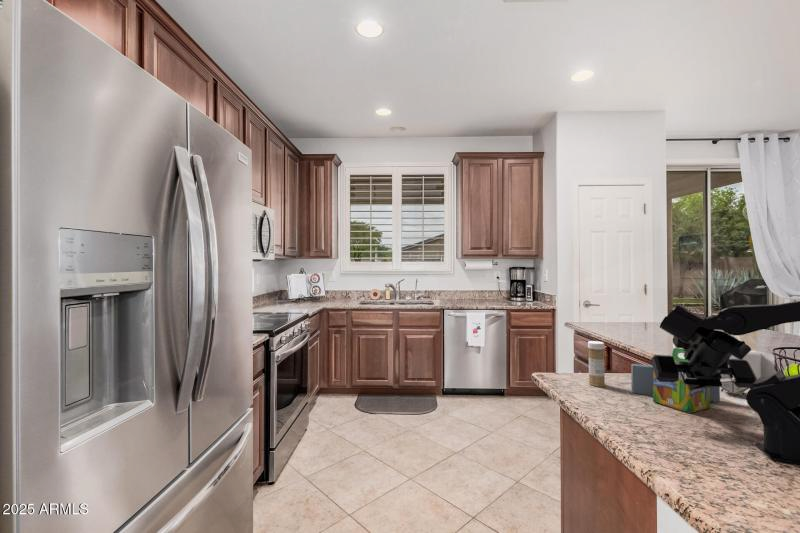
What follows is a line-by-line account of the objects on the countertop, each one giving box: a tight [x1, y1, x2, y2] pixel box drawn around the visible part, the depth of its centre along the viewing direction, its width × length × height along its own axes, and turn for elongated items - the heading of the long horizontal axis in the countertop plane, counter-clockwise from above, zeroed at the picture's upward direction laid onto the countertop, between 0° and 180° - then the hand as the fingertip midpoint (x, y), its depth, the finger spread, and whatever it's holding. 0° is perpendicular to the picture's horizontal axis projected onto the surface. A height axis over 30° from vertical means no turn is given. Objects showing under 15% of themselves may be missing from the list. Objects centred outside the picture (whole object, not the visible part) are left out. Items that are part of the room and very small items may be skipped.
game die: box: [720, 375, 751, 398], centre depth 105 cm, size 9×8×10 cm
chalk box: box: [652, 347, 711, 414], centre depth 96 cm, size 9×9×15 cm
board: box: [630, 363, 721, 403], centre depth 103 cm, size 2×20×8 cm, turn 66°
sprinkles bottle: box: [587, 340, 606, 388], centre depth 114 cm, size 5×5×14 cm
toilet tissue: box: [728, 349, 775, 379], centre depth 116 cm, size 11×12×10 cm
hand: (690, 387), depth 91 cm, fingers closed
